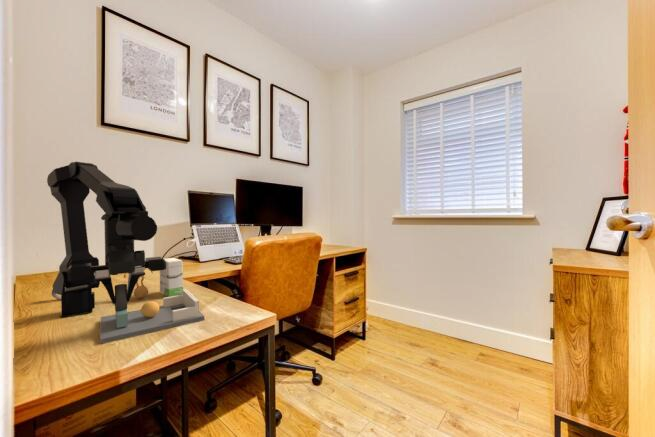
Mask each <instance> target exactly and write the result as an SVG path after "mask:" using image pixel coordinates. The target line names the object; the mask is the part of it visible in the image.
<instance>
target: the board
mask: <svg viewBox="0 0 655 437" xmlns="http://www.w3.org/2000/svg"><path fill="white" fill-rule="evenodd" d="M182 308H187V307H186V306H185V305H184V304H180V305H174V306H169V307H163V305H159V312H158V313H157V314H156V315H155V316H153V317H150V318H147V317H144V316H143V315H142V313H141V309H137V310H132V311H127V313H128V326H125V327H120V328H117V323H116V313H115V314H110V315H103V316H100V344H107V343H111V342H115V341H119V340H123V339H127V338H132V337H136V336H141V335H145V334H149V333H154V332H158V331H159V332H160V331H162V330H166V329H171V328H175V327H180V326H184V325H189V324H193V323H197V322H200V321H204V320H205V315H204V314H203V313H202V312H201V311H200V310H199V316H196V317H192V318H187V319H183V320H178V321H174V322H173V315H172V310H177V309H182Z"/></svg>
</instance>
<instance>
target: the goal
mask: <svg viewBox="0 0 655 437" xmlns="http://www.w3.org/2000/svg"><path fill="white" fill-rule="evenodd" d="M182 291H183V294H180V295H175V296H171V297H168V296H166V297H163V298H162V299H163V302H162V304H163V305H162V306H163V307H169V306H174V305H180V304H184V305H185V306H186V307H187V308H182V309H177V310H172V315H173V322H174V321H178V320H183V319H187V318H192V317H196V316H199V311H200V300H199V299H198V298H197V297H196V296H194V295H193V294H192V293H191V292H190V291H189V290H188V289H187V288H183V290H182Z"/></svg>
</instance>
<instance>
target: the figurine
mask: <svg viewBox="0 0 655 437" xmlns="http://www.w3.org/2000/svg"><path fill="white" fill-rule="evenodd" d="M147 269H148V270H149V271H150V273H151V274H154V273H153V272H154V271H151V270H150V269H149V268H147ZM123 274H124V276H123V279H126V278H127V273H123ZM140 278H141V279H140V284H141V285H139V282H138V281H139V280H138V281H137V283H136V285H135V286H136V287H135V288H134V290H133V296H134V297H135V298H136V299H144V298H145V297H146V296H147V295H148V294H149V289H148V287H147V286H145V284H144V283H143V281H144V279H145V275H144V276H140Z"/></svg>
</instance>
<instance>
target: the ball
mask: <svg viewBox="0 0 655 437" xmlns="http://www.w3.org/2000/svg"><path fill="white" fill-rule="evenodd" d="M159 306H160V305H159V304H158V302H156V301H152V300H151V301H150V300H149V301H147V302H145V303H143V305H142V306H141V307H140V308H141V309H140V310H141V313H142V315H143V316H144V317H147V318H150V317H153V316H155V315H156V314H157V313H158V312H159Z"/></svg>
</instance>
